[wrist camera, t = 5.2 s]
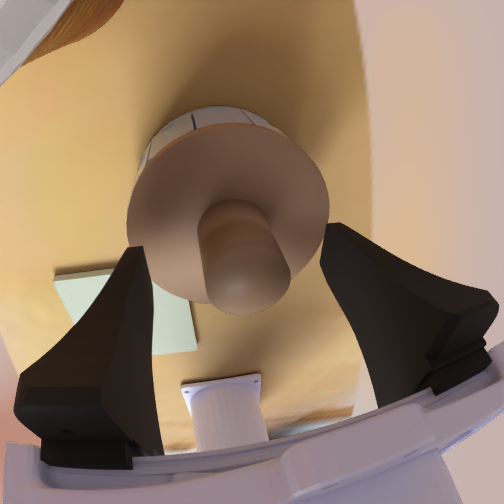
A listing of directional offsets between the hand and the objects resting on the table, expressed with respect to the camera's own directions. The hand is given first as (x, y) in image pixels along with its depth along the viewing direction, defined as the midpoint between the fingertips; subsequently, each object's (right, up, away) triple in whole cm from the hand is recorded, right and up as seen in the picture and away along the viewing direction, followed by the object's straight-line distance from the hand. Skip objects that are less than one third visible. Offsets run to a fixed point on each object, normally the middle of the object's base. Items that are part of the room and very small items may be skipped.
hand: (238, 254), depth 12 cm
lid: (-1, +2, +2) cm, 3 cm away
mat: (-8, -4, +10) cm, 14 cm away
